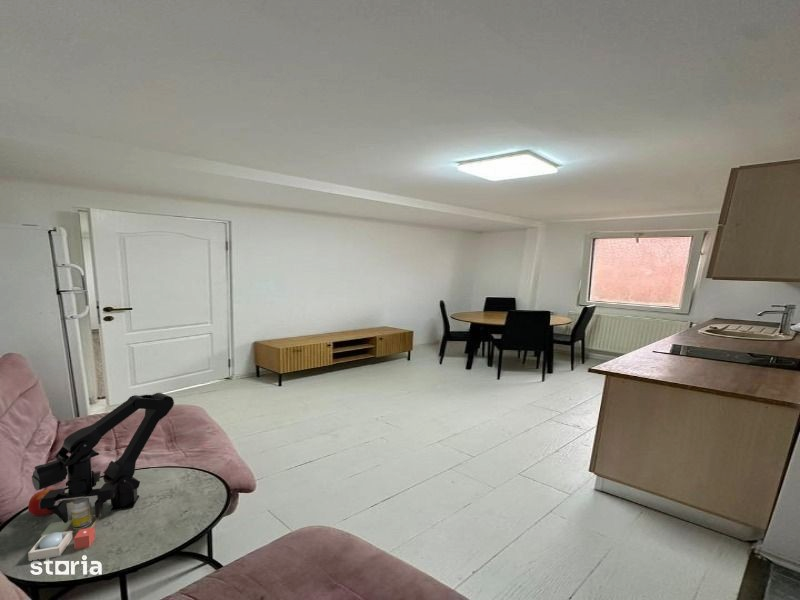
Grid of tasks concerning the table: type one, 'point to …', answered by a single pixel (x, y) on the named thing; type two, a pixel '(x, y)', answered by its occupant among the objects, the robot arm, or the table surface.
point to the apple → (34, 504)
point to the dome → (51, 540)
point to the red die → (84, 538)
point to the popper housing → (50, 552)
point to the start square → (78, 530)
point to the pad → (56, 527)
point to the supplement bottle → (81, 513)
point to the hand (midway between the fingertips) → (82, 519)
